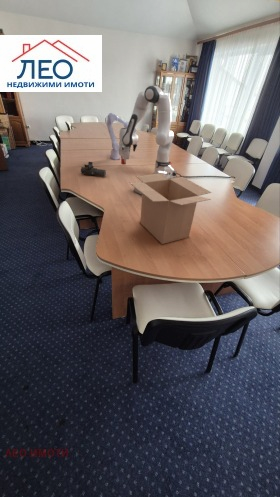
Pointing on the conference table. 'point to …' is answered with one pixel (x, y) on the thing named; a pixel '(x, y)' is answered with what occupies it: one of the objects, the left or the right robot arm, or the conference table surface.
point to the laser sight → (92, 170)
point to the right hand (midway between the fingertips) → (123, 161)
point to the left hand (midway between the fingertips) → (131, 151)
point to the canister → (122, 161)
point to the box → (168, 205)
